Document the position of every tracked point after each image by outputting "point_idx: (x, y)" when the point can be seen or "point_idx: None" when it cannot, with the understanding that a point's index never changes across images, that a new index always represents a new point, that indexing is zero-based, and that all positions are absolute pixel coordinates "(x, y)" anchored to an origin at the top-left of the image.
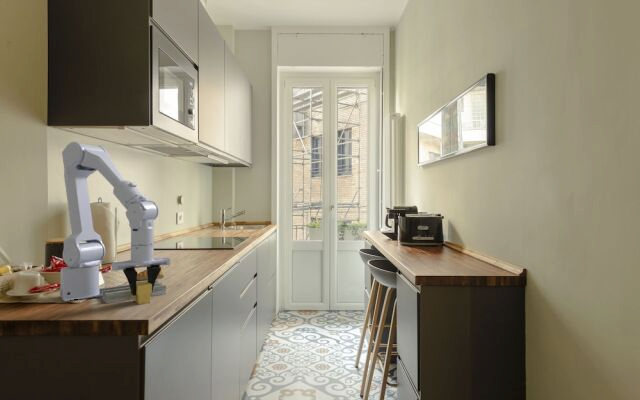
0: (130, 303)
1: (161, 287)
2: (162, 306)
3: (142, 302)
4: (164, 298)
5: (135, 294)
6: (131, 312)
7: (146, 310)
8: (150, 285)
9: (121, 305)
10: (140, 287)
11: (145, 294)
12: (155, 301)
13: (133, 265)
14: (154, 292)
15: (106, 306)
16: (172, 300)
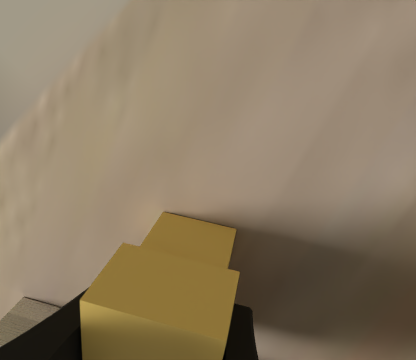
0: (264, 288)
1: None
2: (135, 34)
3: (211, 228)
4: (56, 223)
5: (237, 308)
6: (408, 61)
7: (286, 17)
8: (99, 295)
9: (330, 293)
10: (203, 317)
11: (173, 258)
12: (125, 206)
13: None
14: None
15: (405, 344)
16: (26, 138)
